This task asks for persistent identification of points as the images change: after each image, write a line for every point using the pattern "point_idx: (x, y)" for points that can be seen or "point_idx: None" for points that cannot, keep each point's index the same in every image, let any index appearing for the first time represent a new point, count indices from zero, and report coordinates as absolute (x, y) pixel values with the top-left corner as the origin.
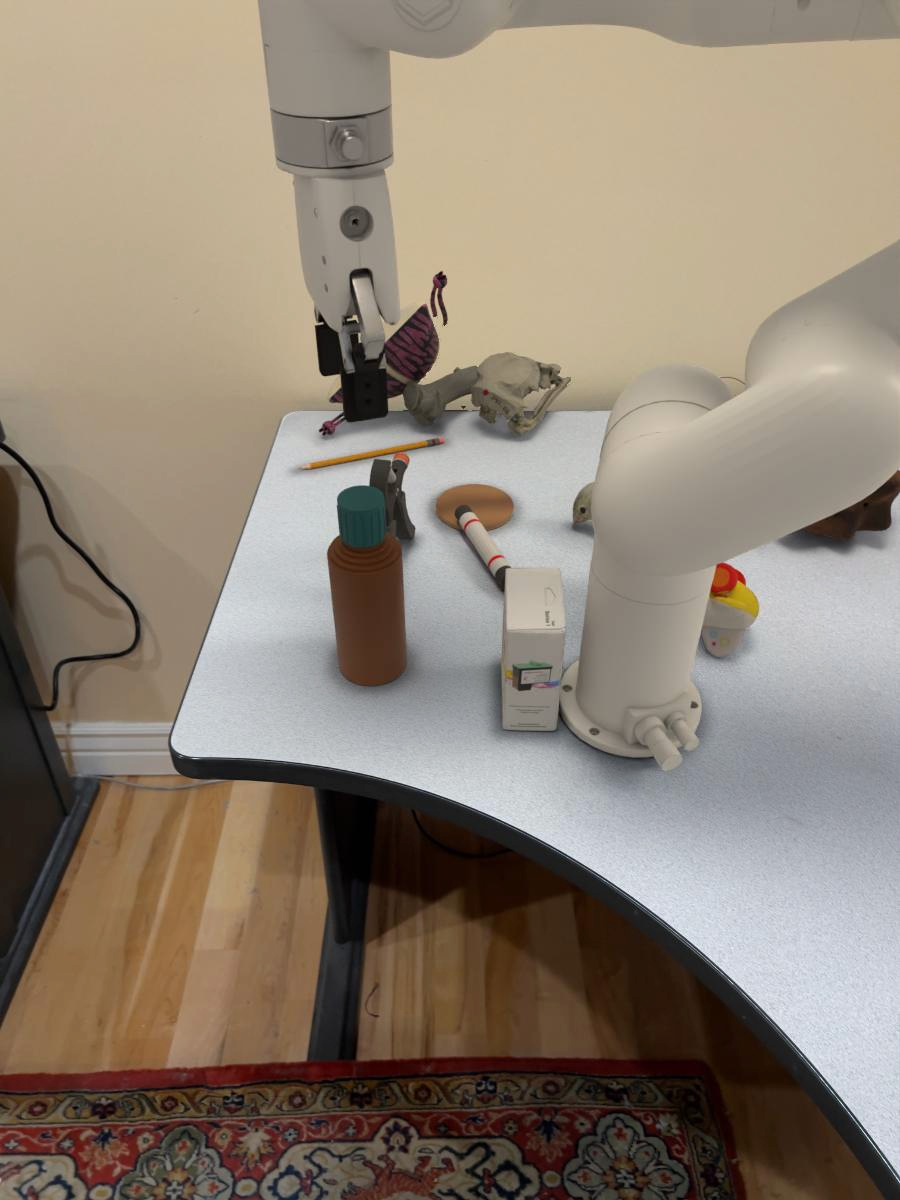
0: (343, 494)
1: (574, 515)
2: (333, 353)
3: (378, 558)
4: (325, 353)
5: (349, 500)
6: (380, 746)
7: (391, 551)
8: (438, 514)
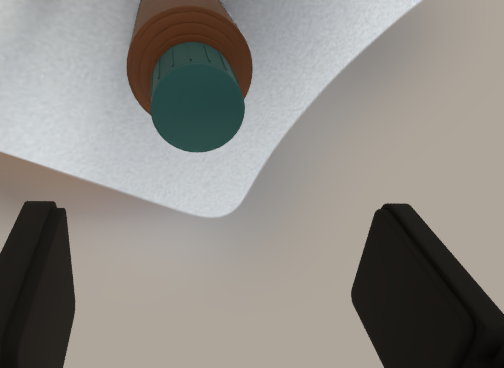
0: (173, 136)
1: None
2: (58, 338)
3: (240, 68)
4: (59, 363)
5: (198, 131)
6: (305, 59)
7: (227, 38)
8: None
